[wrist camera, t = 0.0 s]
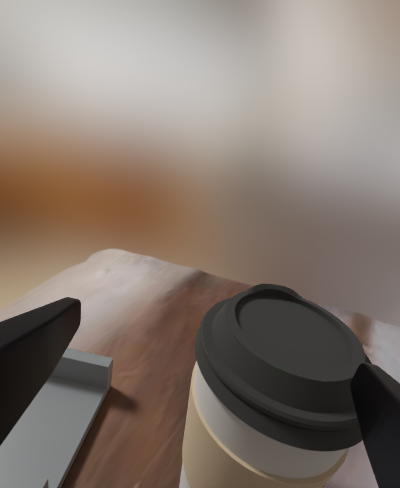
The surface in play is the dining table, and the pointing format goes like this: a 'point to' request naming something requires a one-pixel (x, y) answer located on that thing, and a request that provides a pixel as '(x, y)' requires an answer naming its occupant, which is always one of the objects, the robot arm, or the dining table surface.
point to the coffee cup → (270, 394)
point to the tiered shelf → (55, 422)
